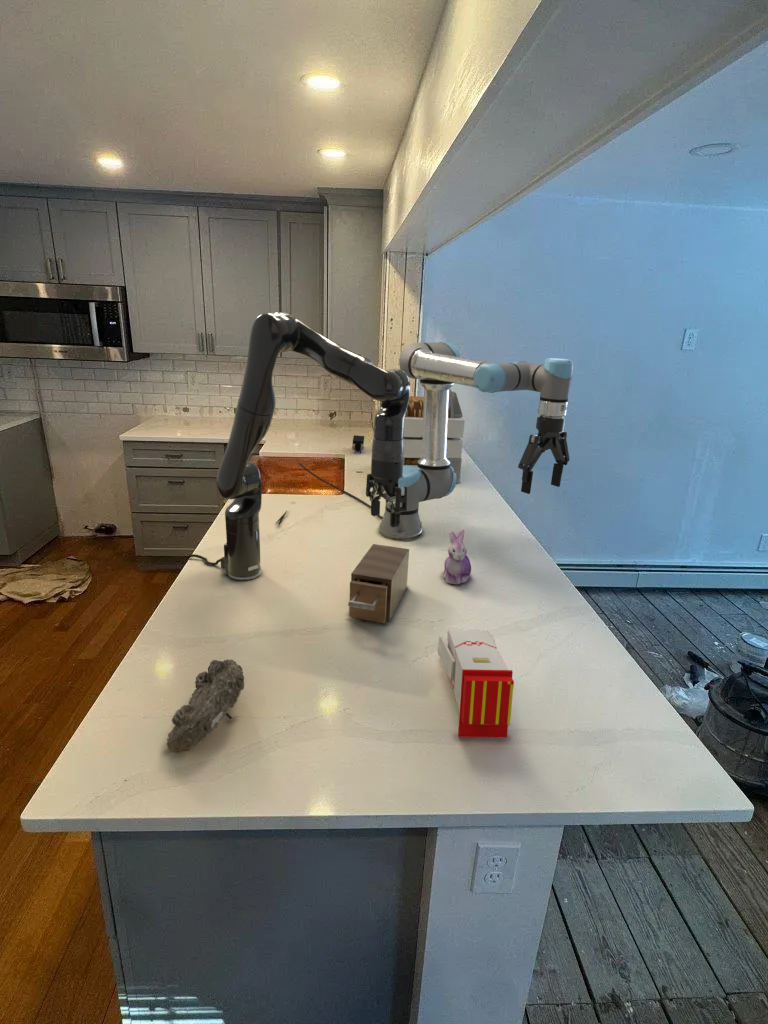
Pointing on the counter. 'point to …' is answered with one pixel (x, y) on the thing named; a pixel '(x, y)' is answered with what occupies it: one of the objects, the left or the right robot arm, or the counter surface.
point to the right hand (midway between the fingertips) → (540, 489)
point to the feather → (281, 519)
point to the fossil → (206, 705)
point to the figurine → (457, 560)
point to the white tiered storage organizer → (415, 432)
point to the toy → (478, 682)
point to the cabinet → (385, 572)
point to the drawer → (368, 600)
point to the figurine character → (358, 443)
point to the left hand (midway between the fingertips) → (384, 520)
